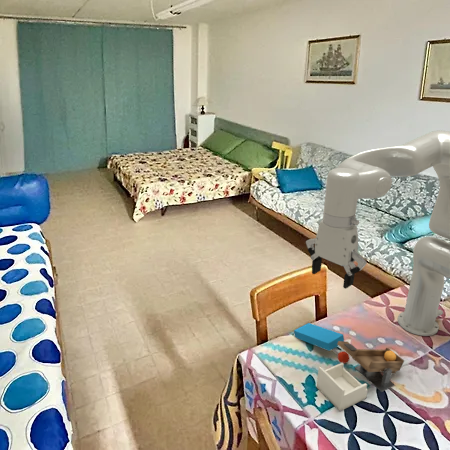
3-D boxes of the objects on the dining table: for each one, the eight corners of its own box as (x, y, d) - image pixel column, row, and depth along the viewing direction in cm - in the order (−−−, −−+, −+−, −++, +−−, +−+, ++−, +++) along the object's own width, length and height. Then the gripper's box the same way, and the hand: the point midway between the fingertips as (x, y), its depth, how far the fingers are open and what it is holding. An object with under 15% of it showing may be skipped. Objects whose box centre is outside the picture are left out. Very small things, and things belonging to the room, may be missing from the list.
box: (341, 375, 113) (344, 356, 110) (366, 398, 106) (370, 377, 103) (316, 387, 109) (318, 367, 106) (339, 411, 102) (343, 390, 99)
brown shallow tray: (364, 348, 123) (370, 335, 122) (397, 374, 112) (404, 360, 111) (334, 347, 115) (340, 334, 114) (366, 376, 105) (374, 361, 104)
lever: (296, 350, 130) (341, 369, 115) (293, 330, 129) (338, 347, 114) (311, 342, 134) (356, 359, 119) (308, 322, 132) (353, 338, 118)
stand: (367, 362, 118) (369, 347, 116) (394, 385, 110) (398, 370, 108) (354, 368, 116) (357, 353, 114) (381, 392, 108) (384, 376, 105)
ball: (387, 356, 116) (391, 347, 115) (396, 363, 113) (400, 354, 112) (380, 358, 114) (383, 349, 113) (389, 365, 111) (392, 356, 110)
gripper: (379, 225, 94) (368, 287, 101) (318, 206, 106) (313, 262, 113) (362, 233, 90) (352, 298, 96) (301, 213, 101) (296, 271, 108)
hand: (331, 279), depth 104 cm, fingers open, 9 cm apart
